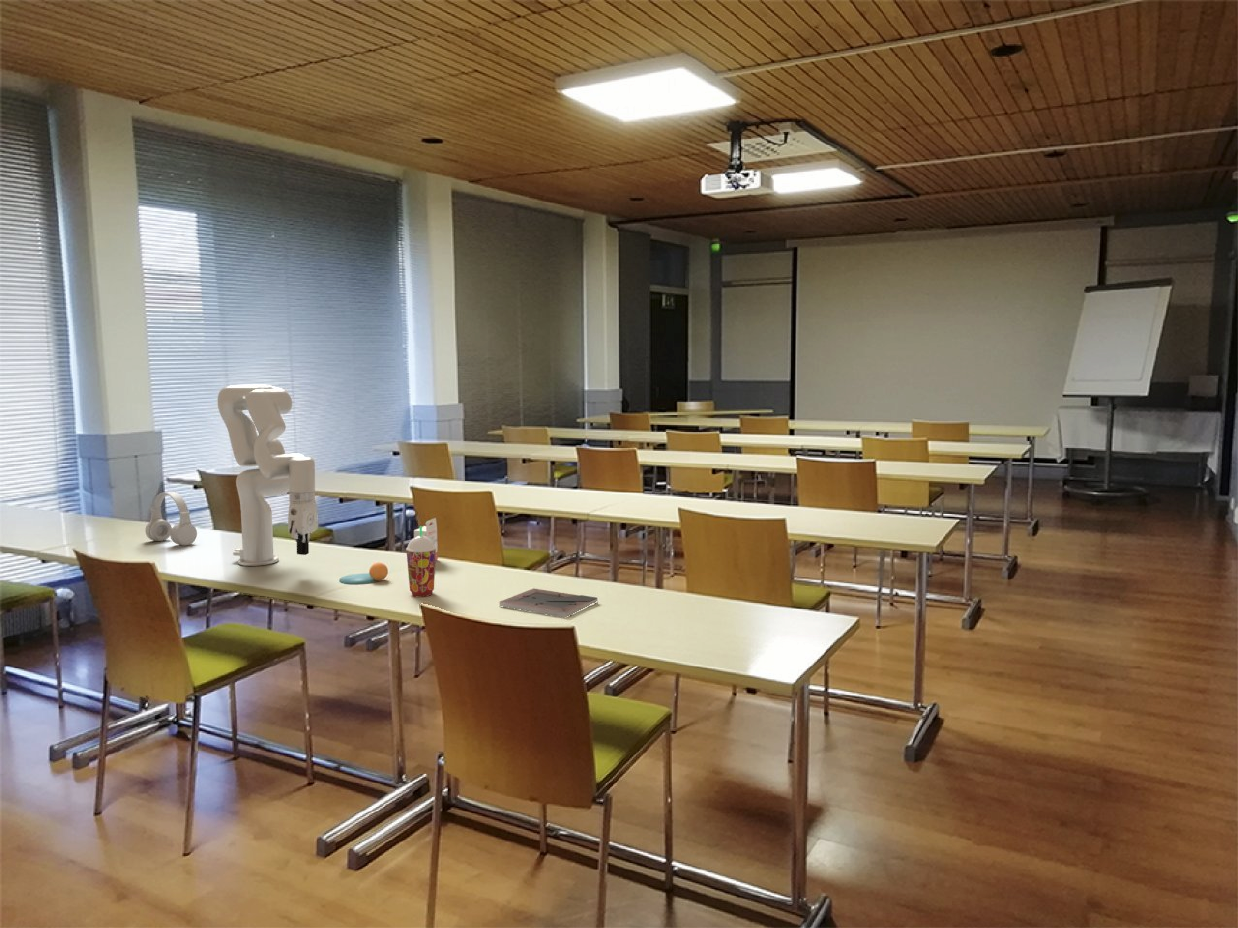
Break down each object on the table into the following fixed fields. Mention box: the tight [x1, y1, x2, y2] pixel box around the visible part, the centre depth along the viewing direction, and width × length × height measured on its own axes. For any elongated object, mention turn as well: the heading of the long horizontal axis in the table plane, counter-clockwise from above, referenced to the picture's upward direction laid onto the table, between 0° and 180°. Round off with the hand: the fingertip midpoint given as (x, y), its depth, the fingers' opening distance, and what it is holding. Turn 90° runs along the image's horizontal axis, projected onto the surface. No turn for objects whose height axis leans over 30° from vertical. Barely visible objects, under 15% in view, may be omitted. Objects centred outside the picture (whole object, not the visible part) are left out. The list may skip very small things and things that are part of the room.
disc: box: [338, 572, 378, 585], centre depth 262 cm, size 13×13×1 cm
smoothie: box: [405, 525, 436, 597], centre depth 244 cm, size 8×8×20 cm
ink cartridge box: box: [413, 517, 439, 562], centre depth 285 cm, size 9×5×15 cm, turn 168°
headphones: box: [145, 491, 198, 547], centre depth 315 cm, size 20×8×19 cm, turn 60°
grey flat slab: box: [499, 587, 598, 618], centre depth 234 cm, size 16×2×22 cm
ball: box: [368, 562, 389, 582], centre depth 260 cm, size 6×6×6 cm
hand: (302, 553), depth 266 cm, fingers closed
